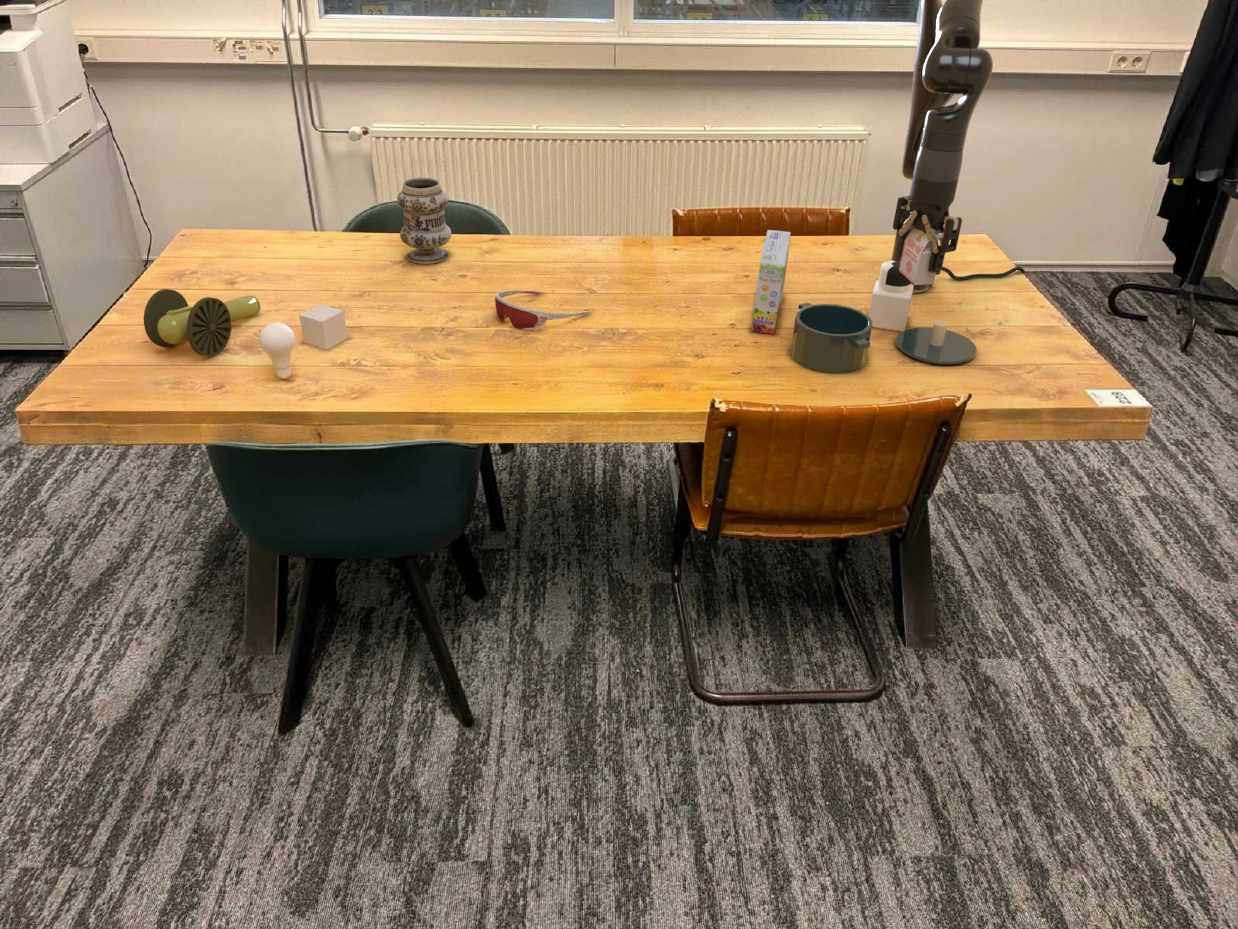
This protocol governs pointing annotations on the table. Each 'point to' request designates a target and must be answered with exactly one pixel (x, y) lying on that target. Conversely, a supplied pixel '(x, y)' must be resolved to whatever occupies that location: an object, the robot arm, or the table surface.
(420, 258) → the apothecary jar
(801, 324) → the cooking pot
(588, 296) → the table surface
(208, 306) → the cannon
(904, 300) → the container
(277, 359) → the lightbulb
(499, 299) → the sunglasses
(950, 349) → the lid
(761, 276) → the snack box
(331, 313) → the grey cube
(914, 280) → the white carton
